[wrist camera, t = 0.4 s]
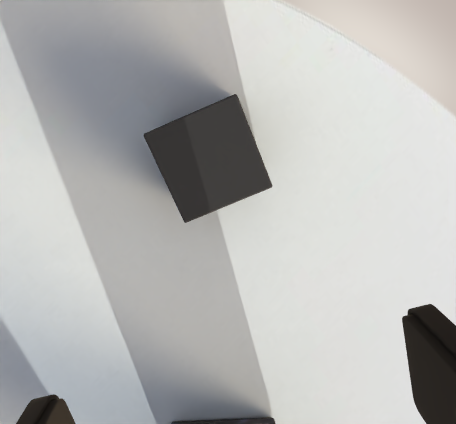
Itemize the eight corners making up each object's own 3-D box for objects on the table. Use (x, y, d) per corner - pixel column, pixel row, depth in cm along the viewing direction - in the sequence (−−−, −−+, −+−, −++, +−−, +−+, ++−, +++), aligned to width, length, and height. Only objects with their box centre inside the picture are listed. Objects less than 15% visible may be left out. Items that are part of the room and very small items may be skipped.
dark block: (155, 129, 22) (142, 134, 18) (232, 96, 22) (236, 93, 18) (189, 204, 23) (184, 223, 20) (263, 174, 23) (273, 187, 19)
